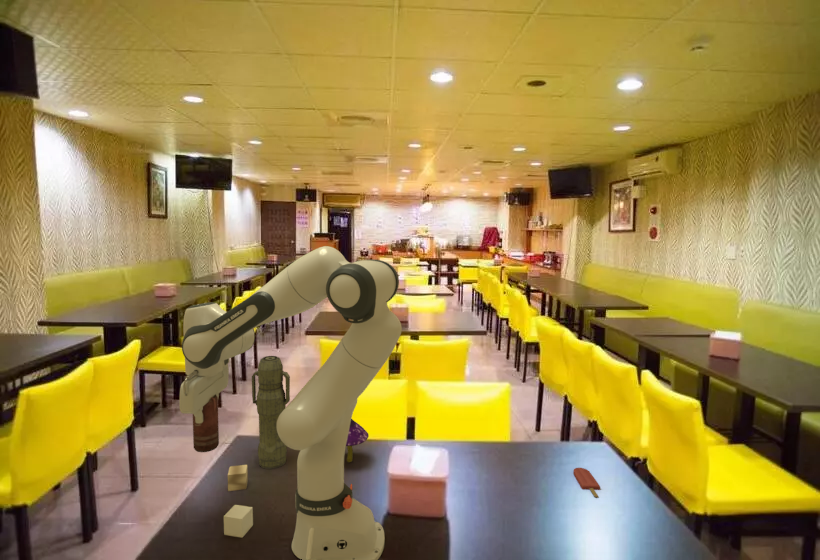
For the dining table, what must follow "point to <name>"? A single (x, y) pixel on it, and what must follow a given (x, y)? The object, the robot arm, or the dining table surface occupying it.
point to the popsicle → (586, 480)
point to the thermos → (270, 410)
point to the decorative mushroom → (355, 437)
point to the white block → (238, 520)
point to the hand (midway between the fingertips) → (206, 416)
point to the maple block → (237, 477)
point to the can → (207, 428)
